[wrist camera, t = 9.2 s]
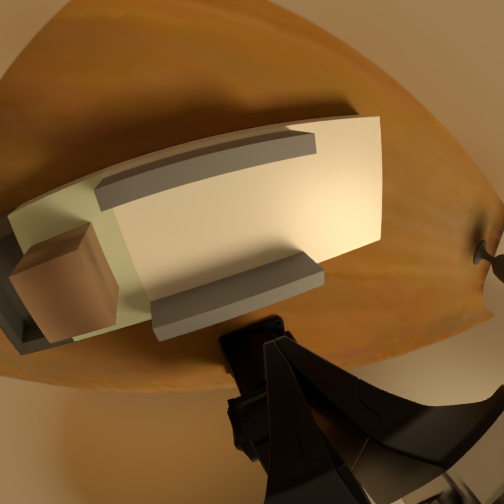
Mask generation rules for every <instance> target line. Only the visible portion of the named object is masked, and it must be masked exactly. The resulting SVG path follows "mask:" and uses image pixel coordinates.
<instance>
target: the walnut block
mask: <svg viewBox="0 0 504 504" xmlns="http://www.w3.org/2000/svg"><path fill="white" fill-rule="evenodd" d="M9 279H10V281H11V282H12V284H13V286H14V288H15V290H16V291H17V293H18V295H19V297H20V298H21V300H22V302H23V303H24V305H25V307H26V308H27V310H28V311H29V313H30V315H31V316H32V318H33V319H34V321H35V322H36V324H37V325H38V327H39V328H40V330H41V331H42V333H43V334H44V335H45V337H46V338H47V340H48V341H49V342H50V343H54V342H57V341H61V340H65V339H68V338H72V337H75V336H79V335H83V334H86V333H90V332H93V331H97V330H100V329H103V328H107V327H110V326H114V325H116V315H117V304H118V294H119V286H118V284H117V282H116V280H115V278H114V275H113V273H112V271H111V269H110V267H109V264H108V262H107V260H106V257H105V255H104V253H103V250H102V248H101V246H100V243H99V241H98V238H97V236H96V233H95V231H94V228H93V225H92V223H91V222H90V223H88V224H85V225H82V226H80V227H77V228H75V229H72V230H69V231H67V232H64V233H62V234H59V235H57V236H54V237H52V238H50V239H47V240H45V241H42V242H40V243H38V244H35V245H33V246H31V247H30V248H29V249H28V251H27V252H26V253H25V255H24V256H23V257H22V259H21V260H20V262H19V263H18V264H17V266H16V267H15V269H14V270H13V272H12V273H11V274H10V276H9Z"/></svg>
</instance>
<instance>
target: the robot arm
mask: <svg viewBox="0 0 504 504" xmlns="http://www.w3.org/2000/svg"><path fill="white" fill-rule="evenodd" d="M278 321H279V322H278ZM223 341H224V342H223ZM219 344H220V346H221V349H222V352H223V354H224V357H225V360H226V362H227V365H228V368H229V370H230V373H231V375H232V377H233V378H234V380H235V382H236V385H237V387H238V390H239V392H240V394H241V396H239V397H237V398H234V399H233V398H232V399H229V400H227V401H228V405H229V408H228V411H227V413H228V416H229V419H230V421H231V425H232V429H233V438H234V445H235V447H236V449H238V450H240V451H243V452H244V453H245V454H246V455H247V456H248V457H249V459H250V460H251V461H252V462H255V461H257V460H259V461H260V462H261V465H262V466H263V468H264V469H265V472H266V473H267V475H268V479H267V487H266V495H265V501H264V504H371V502H370V500H369V499H368V497H367V495H366V493H365V491H364V489H365V490H366V492H367V493H368V494H369V495H370V497H371V498H372V499H373V501H374V502H375V503H376V504H390V503H393V502H394V501H396V500H398V499H400V498H402V499H403V501H404V502H405V504H504V385H501V386H500V387H499V388H498V389H497V390H496V392H495V393H494V394H493V395H492V396H491V397H490V398H488V399H487V400H484V401H481V402H476V403H468V404H460V405H450V406H426V405H422V404H418V403H416V402H413V401H410V400H407V399H404V398H402V397H399V396H396V395H393V394H391V393H388V392H386V391H383V390H381V389H379V388H377V387H375V386H373V385H371V384H368V383H367V382H365V381H363V380H361V379H359V380H358V378H357V377H356V376H354V375H352V374H350V373H348V372H346V371H345V370H343V369H341V368H339V367H338V366H336V365H334V364H332V363H331V362H329V361H327V360H325V359H324V358H322V357H320V356H319V355H317V354H315V353H313V352H312V351H310V350H308V349H307V348H305V347H303V346H302V345H300V344H298V343H297V341H296V340H295V338H294V337H293V335H292V334H291V332H289V331H286V332H285V330H284V322H283V319H282V318H281V317H275V318H272V319H270V320H267V321H264V322H262V323H259V324H256V325H253V326H251V327H248V328H245V329H242V330H239V331H236V332H234V333H231V334H228V335H225V336H222V337H220V338H219ZM361 485H362V486H363V488H364V489H363V488H362V486H361Z"/></svg>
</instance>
